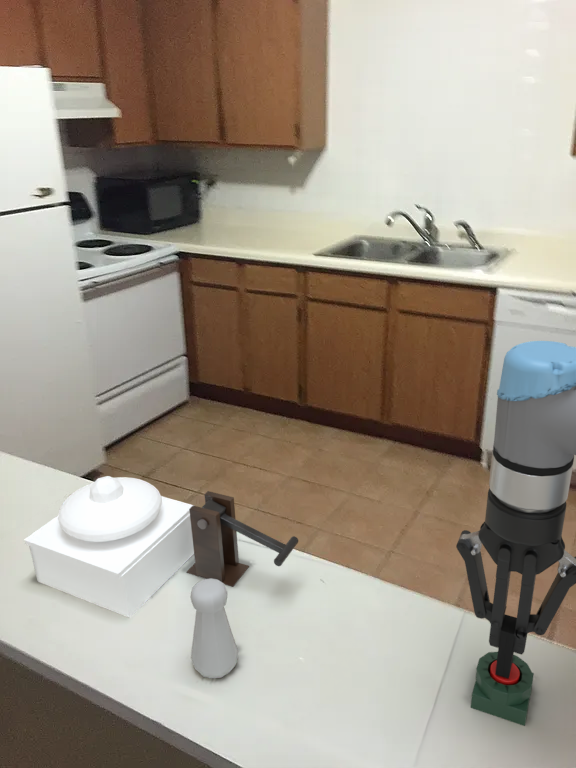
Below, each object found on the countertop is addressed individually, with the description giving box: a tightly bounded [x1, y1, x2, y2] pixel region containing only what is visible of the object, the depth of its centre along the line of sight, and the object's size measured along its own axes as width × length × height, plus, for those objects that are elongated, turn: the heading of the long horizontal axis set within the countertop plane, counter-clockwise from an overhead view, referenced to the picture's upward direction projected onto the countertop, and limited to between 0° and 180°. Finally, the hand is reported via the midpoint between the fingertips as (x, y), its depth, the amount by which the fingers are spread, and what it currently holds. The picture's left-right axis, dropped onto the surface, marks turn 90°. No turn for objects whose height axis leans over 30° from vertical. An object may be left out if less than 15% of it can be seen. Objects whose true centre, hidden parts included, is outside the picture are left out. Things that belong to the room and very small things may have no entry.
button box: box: [470, 651, 535, 727], centre depth 78 cm, size 6×6×4 cm
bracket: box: [186, 490, 250, 588], centre depth 97 cm, size 8×6×13 cm
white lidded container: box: [23, 475, 195, 619], centre depth 99 cm, size 18×18×16 cm
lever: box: [201, 500, 299, 567], centre depth 94 cm, size 14×6×2 cm, turn 65°
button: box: [490, 660, 520, 685], centre depth 77 cm, size 3×3×2 cm
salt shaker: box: [190, 578, 239, 679], centre depth 81 cm, size 6×6×13 cm
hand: (503, 667), depth 77 cm, fingers closed
